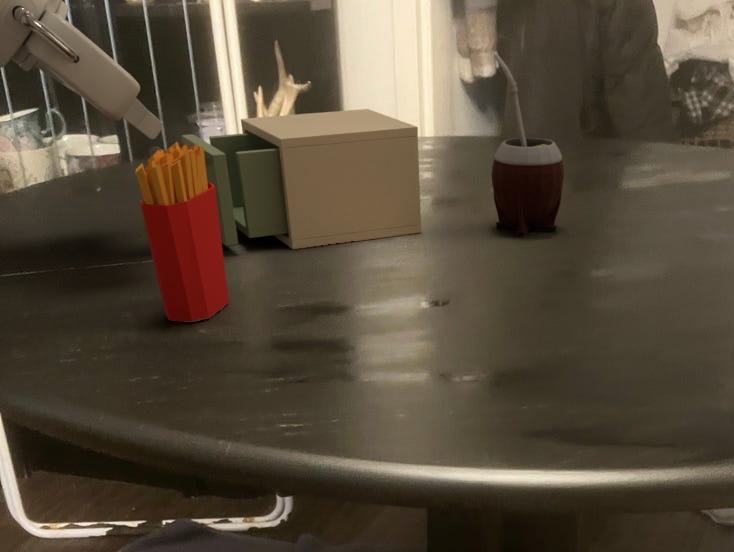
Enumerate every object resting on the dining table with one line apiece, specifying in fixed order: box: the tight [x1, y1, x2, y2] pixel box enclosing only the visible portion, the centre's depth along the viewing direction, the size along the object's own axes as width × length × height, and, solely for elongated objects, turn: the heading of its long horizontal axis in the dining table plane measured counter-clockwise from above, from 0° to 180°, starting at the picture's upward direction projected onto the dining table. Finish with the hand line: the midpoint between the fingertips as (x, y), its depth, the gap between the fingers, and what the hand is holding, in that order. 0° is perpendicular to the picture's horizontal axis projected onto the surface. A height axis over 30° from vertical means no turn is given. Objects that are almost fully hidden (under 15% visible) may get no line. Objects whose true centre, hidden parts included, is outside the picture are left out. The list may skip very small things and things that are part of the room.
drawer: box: [148, 133, 289, 247], centre depth 94 cm, size 16×11×8 cm
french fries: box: [135, 141, 230, 321], centre depth 75 cm, size 8×4×12 cm, turn 169°
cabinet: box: [240, 108, 422, 250], centre depth 98 cm, size 14×13×10 cm
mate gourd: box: [491, 53, 565, 238], centre depth 95 cm, size 8×8×15 cm
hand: (155, 131), depth 88 cm, fingers closed
